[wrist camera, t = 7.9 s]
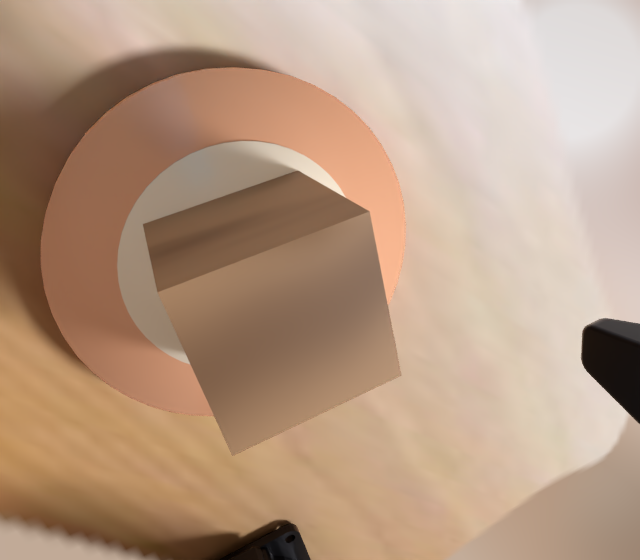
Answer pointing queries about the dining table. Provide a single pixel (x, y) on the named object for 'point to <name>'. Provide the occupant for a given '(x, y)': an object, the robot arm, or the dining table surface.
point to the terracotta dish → (185, 192)
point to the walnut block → (275, 303)
